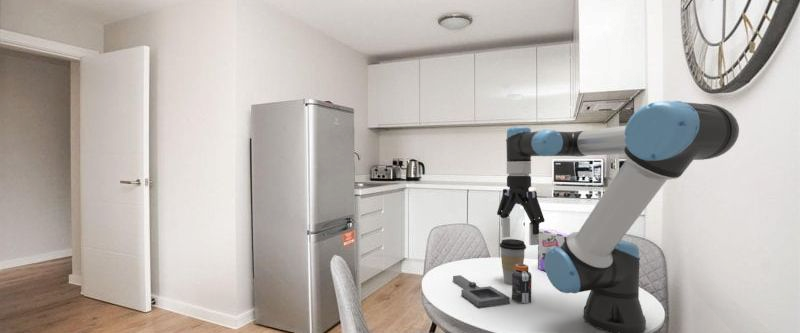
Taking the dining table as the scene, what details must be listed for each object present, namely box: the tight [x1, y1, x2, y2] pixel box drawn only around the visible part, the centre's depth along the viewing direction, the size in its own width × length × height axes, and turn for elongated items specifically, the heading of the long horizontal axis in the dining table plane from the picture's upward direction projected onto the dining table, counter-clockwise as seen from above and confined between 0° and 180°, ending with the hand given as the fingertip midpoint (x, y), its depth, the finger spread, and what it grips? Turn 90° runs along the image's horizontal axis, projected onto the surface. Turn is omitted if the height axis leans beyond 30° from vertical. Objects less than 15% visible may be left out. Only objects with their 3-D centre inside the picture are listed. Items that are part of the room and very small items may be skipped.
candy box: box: [537, 228, 570, 273], centre depth 150 cm, size 14×6×16 cm, turn 25°
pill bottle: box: [511, 263, 532, 304], centre depth 122 cm, size 6×6×11 cm
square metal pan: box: [452, 274, 511, 309], centre depth 128 cm, size 25×11×3 cm, turn 19°
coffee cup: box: [499, 238, 527, 285], centre depth 139 cm, size 9×9×15 cm
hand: (519, 240), depth 123 cm, fingers open, 13 cm apart
